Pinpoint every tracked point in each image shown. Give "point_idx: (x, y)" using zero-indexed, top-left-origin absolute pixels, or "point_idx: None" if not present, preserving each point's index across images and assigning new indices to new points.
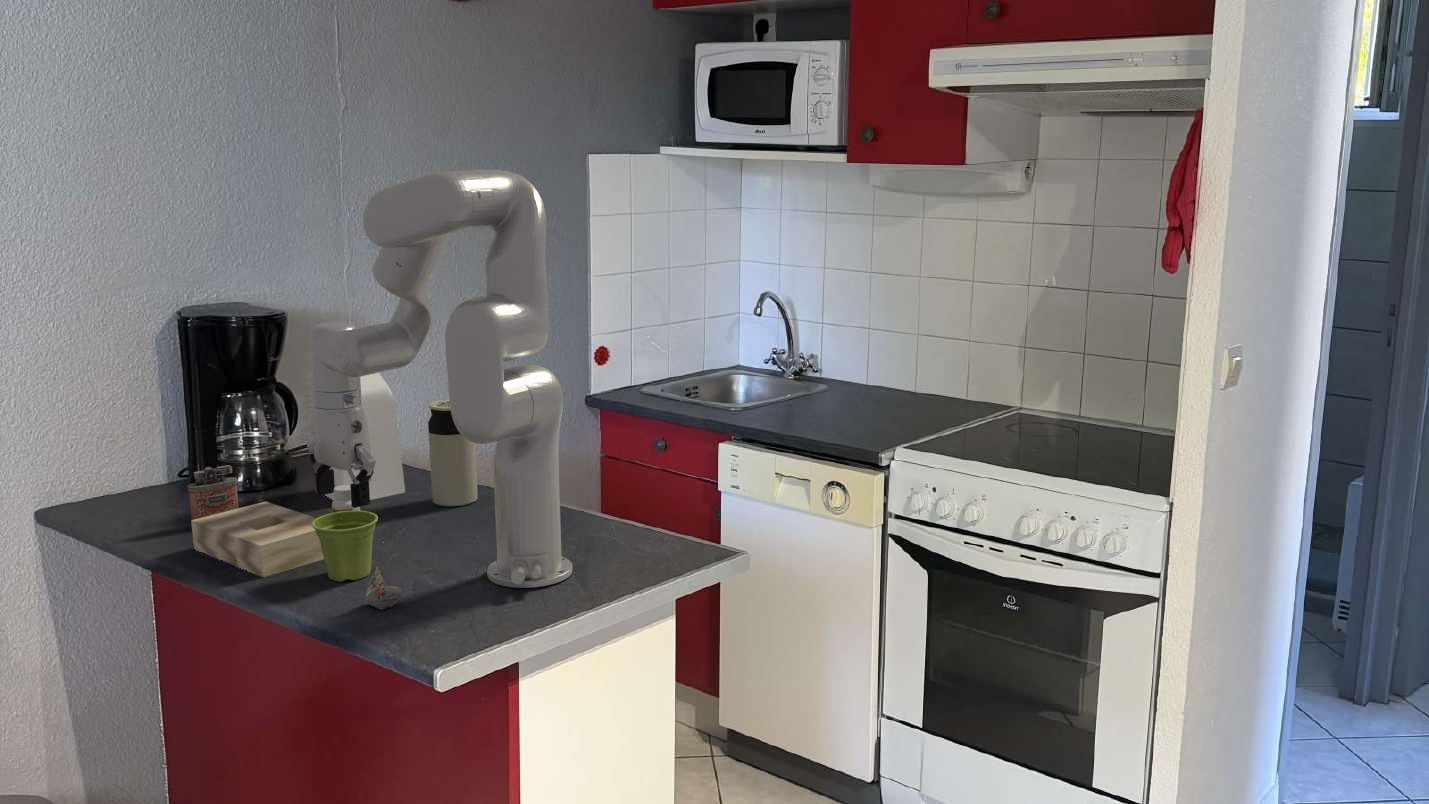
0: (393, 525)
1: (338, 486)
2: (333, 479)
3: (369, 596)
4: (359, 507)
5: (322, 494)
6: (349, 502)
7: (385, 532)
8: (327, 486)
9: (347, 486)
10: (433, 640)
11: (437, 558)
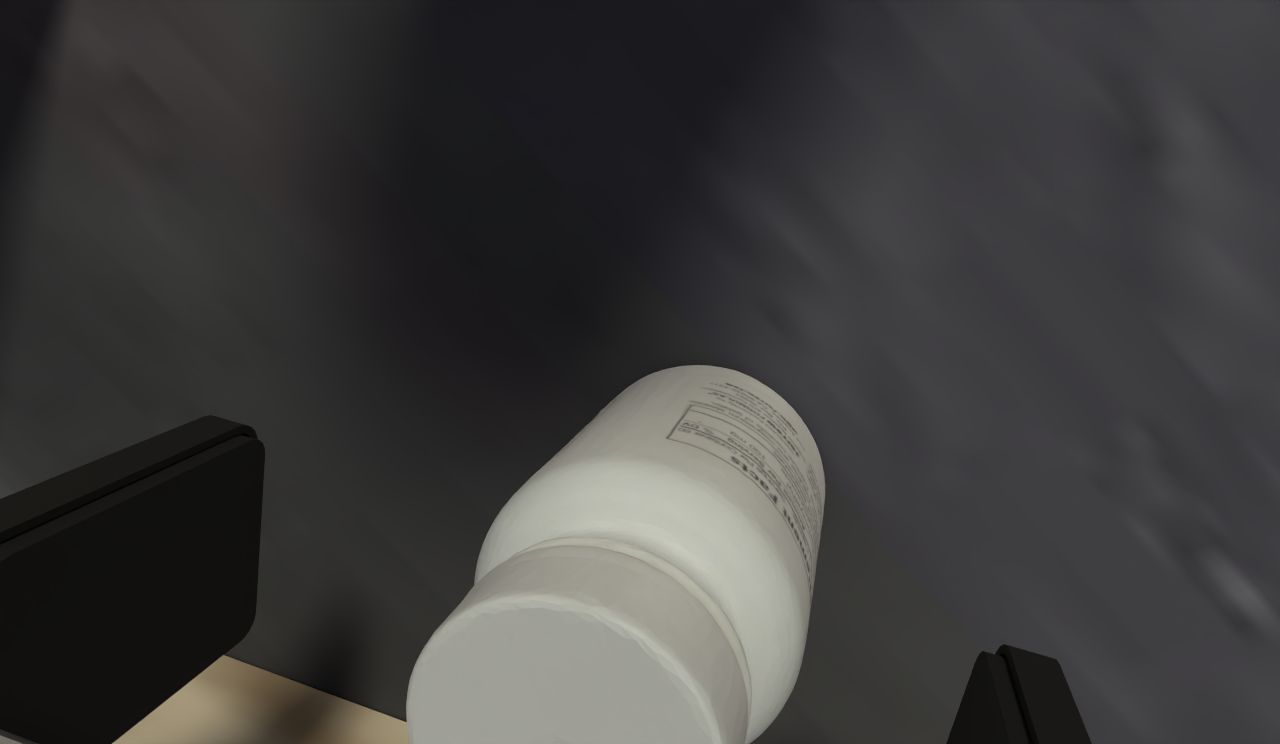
0: (981, 113)
1: (428, 723)
2: (125, 514)
3: None
4: (785, 520)
5: (250, 597)
6: (752, 717)
7: (1056, 340)
8: (189, 572)
9: (546, 683)
10: None
11: None
